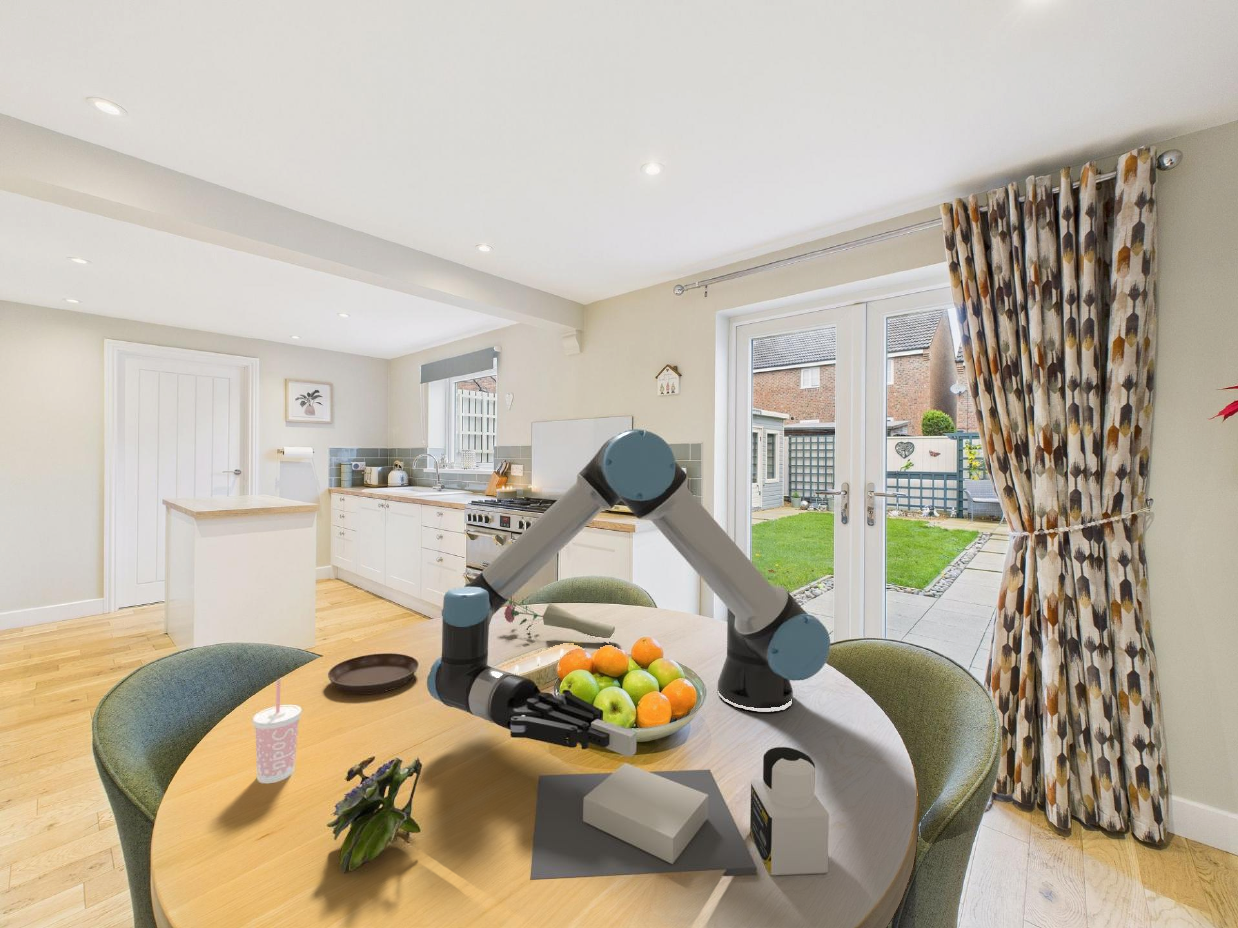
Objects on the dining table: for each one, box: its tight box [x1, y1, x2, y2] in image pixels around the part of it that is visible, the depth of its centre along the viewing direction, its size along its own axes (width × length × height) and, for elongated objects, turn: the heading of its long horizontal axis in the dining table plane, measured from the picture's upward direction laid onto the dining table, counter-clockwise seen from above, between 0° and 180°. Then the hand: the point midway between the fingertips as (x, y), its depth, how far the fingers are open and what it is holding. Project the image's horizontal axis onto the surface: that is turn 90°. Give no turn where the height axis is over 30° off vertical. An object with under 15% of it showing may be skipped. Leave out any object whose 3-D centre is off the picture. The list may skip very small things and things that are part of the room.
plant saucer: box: [327, 652, 420, 695], centre depth 114 cm, size 18×18×3 cm
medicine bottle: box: [749, 746, 830, 876], centre depth 65 cm, size 7×7×12 cm
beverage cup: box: [252, 678, 303, 784], centre depth 79 cm, size 6×6×14 cm
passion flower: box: [326, 755, 423, 873], centre depth 66 cm, size 11×11×12 cm
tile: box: [583, 762, 708, 864], centre depth 69 cm, size 3×10×13 cm
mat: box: [529, 769, 758, 881], centre depth 70 cm, size 26×20×1 cm
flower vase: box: [503, 597, 616, 638], centre depth 146 cm, size 12×12×35 cm
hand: (633, 744), depth 70 cm, fingers closed
